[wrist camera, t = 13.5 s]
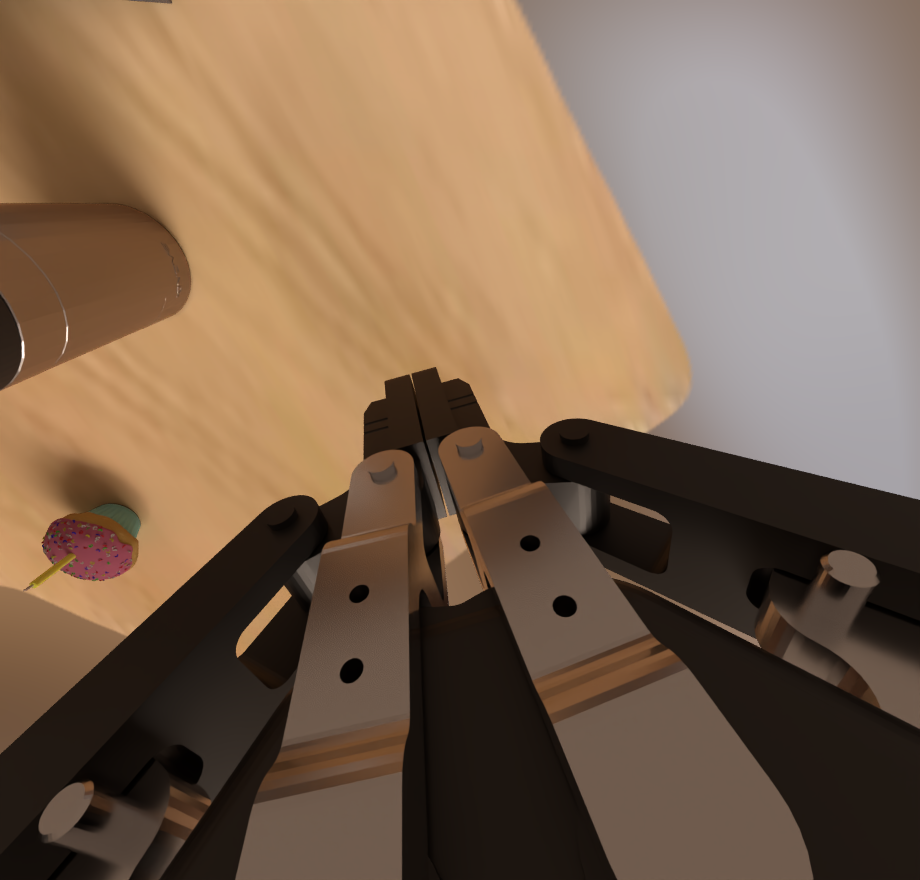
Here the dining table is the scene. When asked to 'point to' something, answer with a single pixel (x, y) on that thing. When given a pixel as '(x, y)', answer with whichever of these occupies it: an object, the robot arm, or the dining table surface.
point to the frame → (160, 0)
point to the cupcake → (92, 544)
